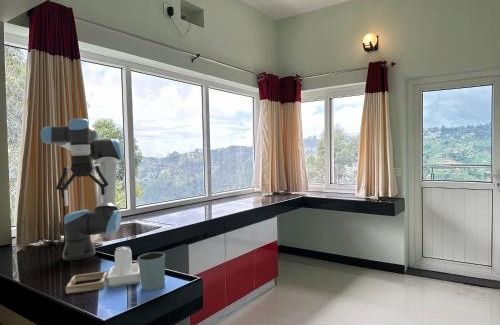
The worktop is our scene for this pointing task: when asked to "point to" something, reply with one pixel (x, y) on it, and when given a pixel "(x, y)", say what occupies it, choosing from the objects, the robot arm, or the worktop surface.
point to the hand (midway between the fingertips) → (84, 204)
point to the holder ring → (89, 286)
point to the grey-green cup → (152, 270)
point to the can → (123, 261)
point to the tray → (123, 277)
